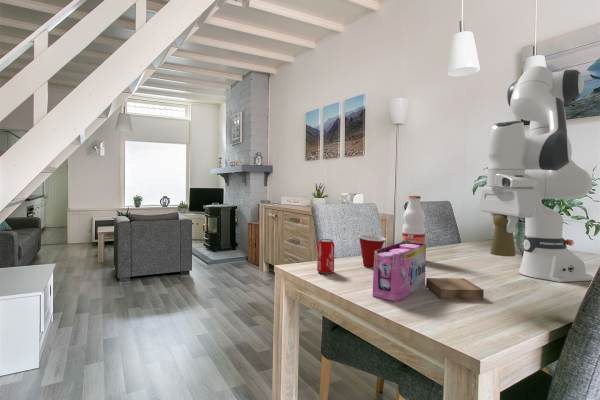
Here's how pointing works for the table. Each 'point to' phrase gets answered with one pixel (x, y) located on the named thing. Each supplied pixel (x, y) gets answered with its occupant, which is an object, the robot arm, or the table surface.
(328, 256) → the soda can
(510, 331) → the table surface
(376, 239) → the plastic cup
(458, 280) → the walnut block
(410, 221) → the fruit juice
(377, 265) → the gum box
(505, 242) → the cork
